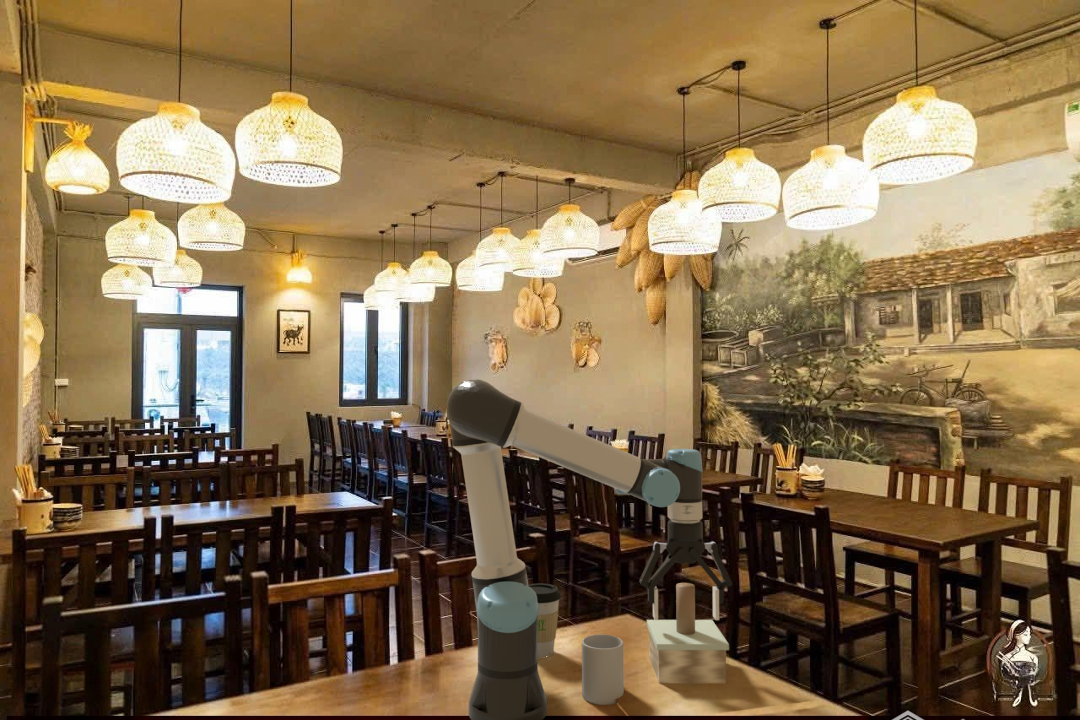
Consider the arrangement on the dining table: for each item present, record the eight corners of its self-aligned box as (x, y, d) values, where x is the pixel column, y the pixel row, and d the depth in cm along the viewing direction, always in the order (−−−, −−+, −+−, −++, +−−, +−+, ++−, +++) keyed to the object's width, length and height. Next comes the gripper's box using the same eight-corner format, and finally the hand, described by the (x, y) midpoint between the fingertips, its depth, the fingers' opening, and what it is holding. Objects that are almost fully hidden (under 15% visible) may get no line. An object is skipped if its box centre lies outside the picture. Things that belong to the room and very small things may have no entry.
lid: (656, 654, 149) (656, 595, 149) (646, 629, 164) (646, 575, 164) (729, 654, 148) (728, 595, 149) (712, 629, 163) (711, 576, 164)
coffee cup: (514, 647, 171) (514, 584, 172) (553, 643, 174) (553, 581, 175) (525, 663, 162) (525, 596, 162) (566, 658, 165) (566, 592, 165)
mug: (625, 705, 141) (625, 649, 141) (582, 705, 141) (582, 649, 141) (620, 680, 153) (620, 628, 153) (580, 679, 153) (580, 628, 153)
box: (659, 687, 149) (658, 649, 149) (649, 661, 163) (649, 625, 163) (726, 687, 149) (725, 649, 149) (710, 661, 163) (710, 625, 163)
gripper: (630, 523, 153) (631, 623, 153) (746, 523, 153) (746, 624, 152) (626, 516, 161) (627, 612, 160) (736, 516, 160) (737, 612, 160)
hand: (685, 618), depth 156 cm, fingers open, 12 cm apart
